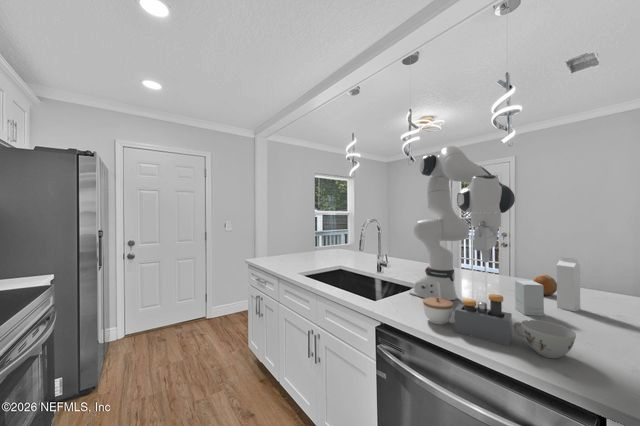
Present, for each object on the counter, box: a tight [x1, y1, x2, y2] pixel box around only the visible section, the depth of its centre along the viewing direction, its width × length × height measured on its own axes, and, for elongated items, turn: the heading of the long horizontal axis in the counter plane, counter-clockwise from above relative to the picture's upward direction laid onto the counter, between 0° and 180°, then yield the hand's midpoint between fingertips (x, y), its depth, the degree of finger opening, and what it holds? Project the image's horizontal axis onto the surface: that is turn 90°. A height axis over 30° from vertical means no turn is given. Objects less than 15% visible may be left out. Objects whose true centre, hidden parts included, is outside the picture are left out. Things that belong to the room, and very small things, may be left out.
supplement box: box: [514, 280, 545, 317], centre depth 113 cm, size 7×7×13 cm
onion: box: [532, 274, 557, 296], centre depth 136 cm, size 10×10×10 cm
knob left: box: [462, 298, 477, 312], centre depth 96 cm, size 4×4×9 cm
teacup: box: [513, 319, 577, 359], centre depth 82 cm, size 15×12×8 cm
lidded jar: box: [422, 297, 454, 326], centre depth 105 cm, size 11×11×9 cm
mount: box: [454, 303, 513, 347], centre depth 94 cm, size 16×8×8 cm, turn 50°
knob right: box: [488, 293, 504, 318], centre depth 91 cm, size 4×4×9 cm
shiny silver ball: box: [477, 301, 488, 313], centre depth 93 cm, size 3×3×3 cm
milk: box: [556, 256, 581, 312], centre depth 117 cm, size 6×6×22 cm
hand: (486, 261), depth 92 cm, fingers closed
